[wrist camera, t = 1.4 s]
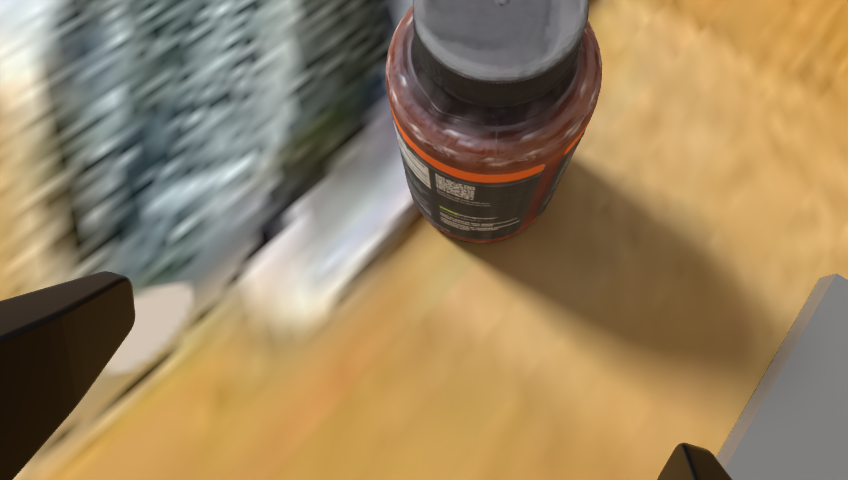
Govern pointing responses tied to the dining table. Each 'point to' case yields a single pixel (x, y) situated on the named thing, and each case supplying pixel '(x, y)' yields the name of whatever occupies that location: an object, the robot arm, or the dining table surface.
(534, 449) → the dining table surface
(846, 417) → the coaster
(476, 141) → the supplement bottle
